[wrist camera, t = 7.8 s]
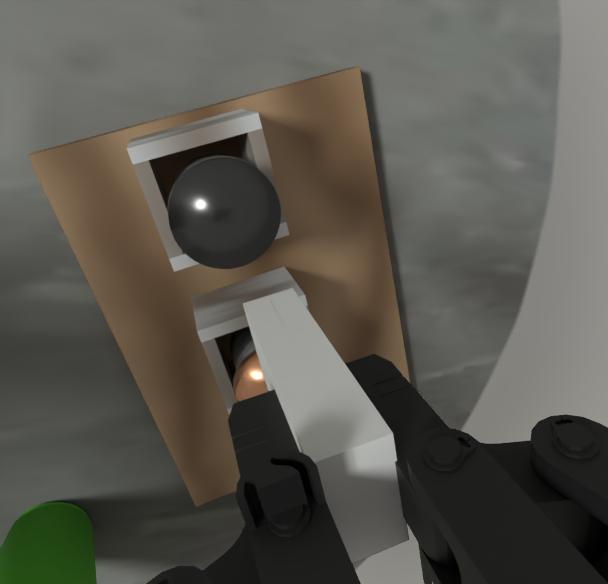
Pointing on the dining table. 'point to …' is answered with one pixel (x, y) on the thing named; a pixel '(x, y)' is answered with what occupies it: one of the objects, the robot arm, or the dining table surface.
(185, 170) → the black plunger
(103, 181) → the panel
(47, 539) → the cup
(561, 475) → the robot arm
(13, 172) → the dining table surface
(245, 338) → the copper domed cylinder
